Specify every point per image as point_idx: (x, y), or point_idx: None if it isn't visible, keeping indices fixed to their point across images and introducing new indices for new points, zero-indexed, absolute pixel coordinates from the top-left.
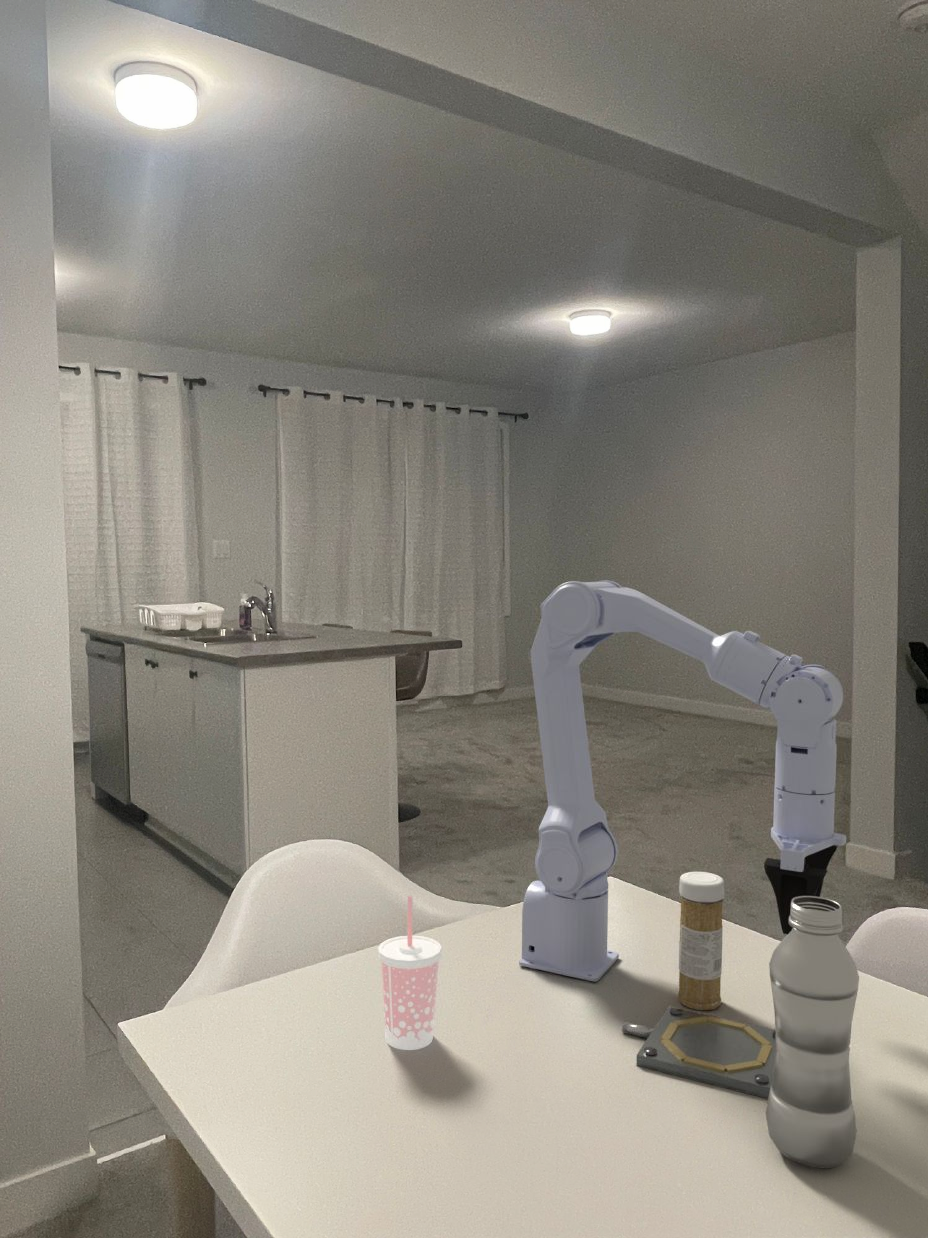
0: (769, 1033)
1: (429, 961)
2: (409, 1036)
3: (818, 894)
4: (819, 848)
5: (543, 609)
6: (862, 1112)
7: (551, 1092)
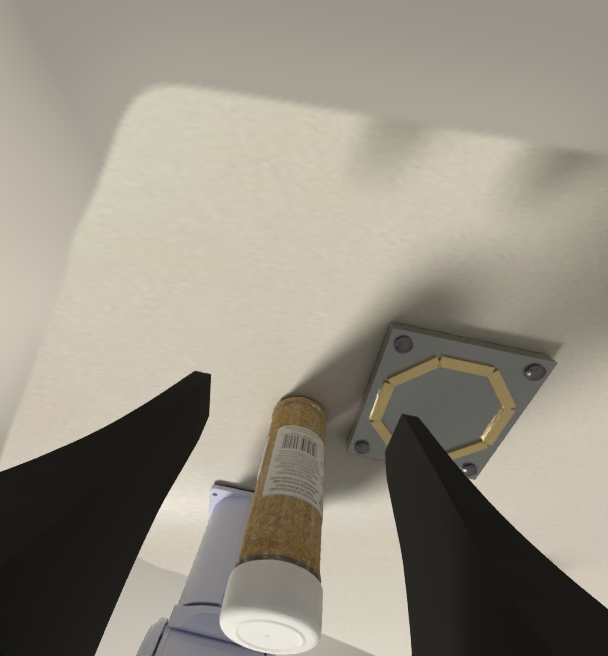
0: (399, 355)
1: None
2: None
3: (185, 403)
4: None
5: None
6: (587, 244)
7: (525, 521)
